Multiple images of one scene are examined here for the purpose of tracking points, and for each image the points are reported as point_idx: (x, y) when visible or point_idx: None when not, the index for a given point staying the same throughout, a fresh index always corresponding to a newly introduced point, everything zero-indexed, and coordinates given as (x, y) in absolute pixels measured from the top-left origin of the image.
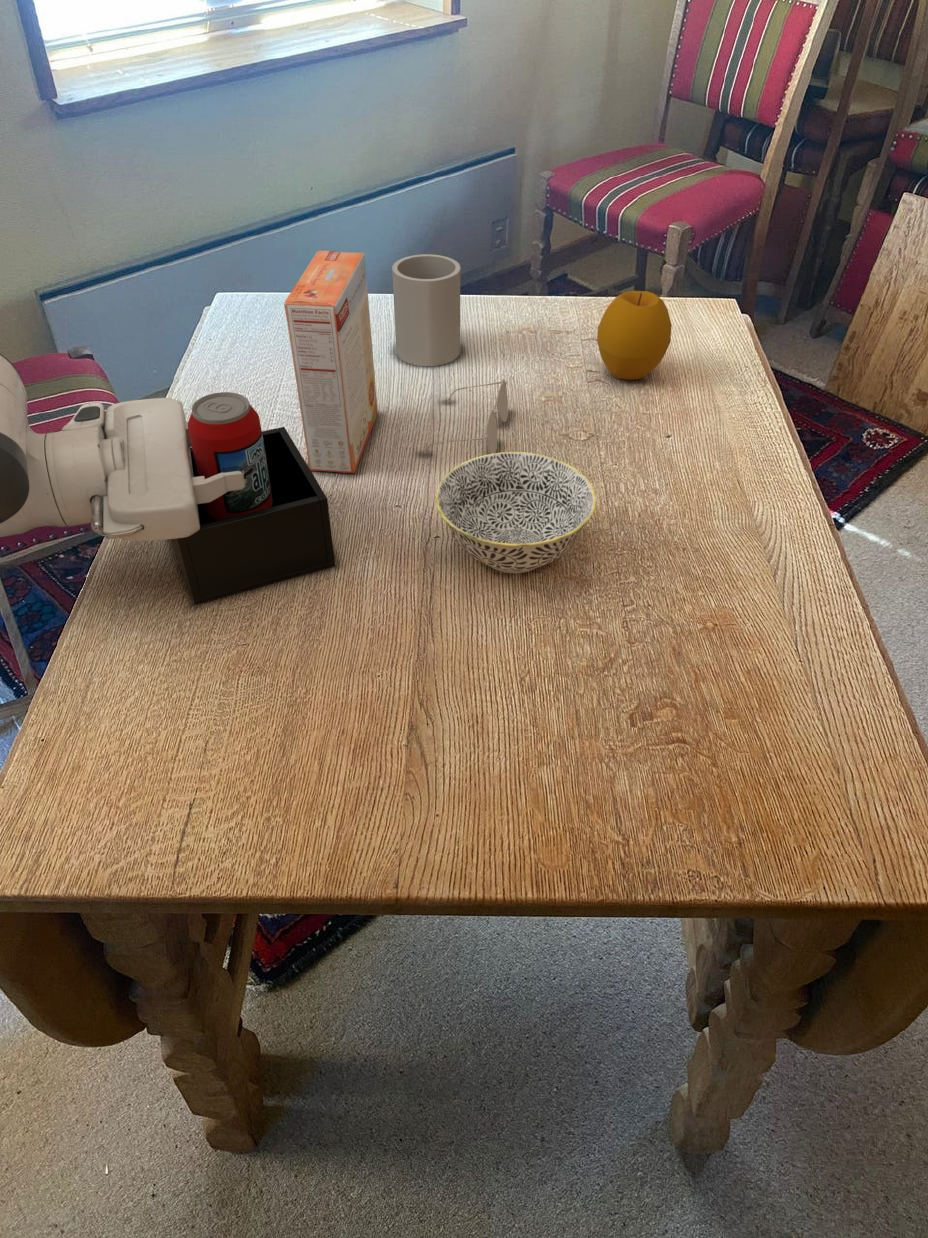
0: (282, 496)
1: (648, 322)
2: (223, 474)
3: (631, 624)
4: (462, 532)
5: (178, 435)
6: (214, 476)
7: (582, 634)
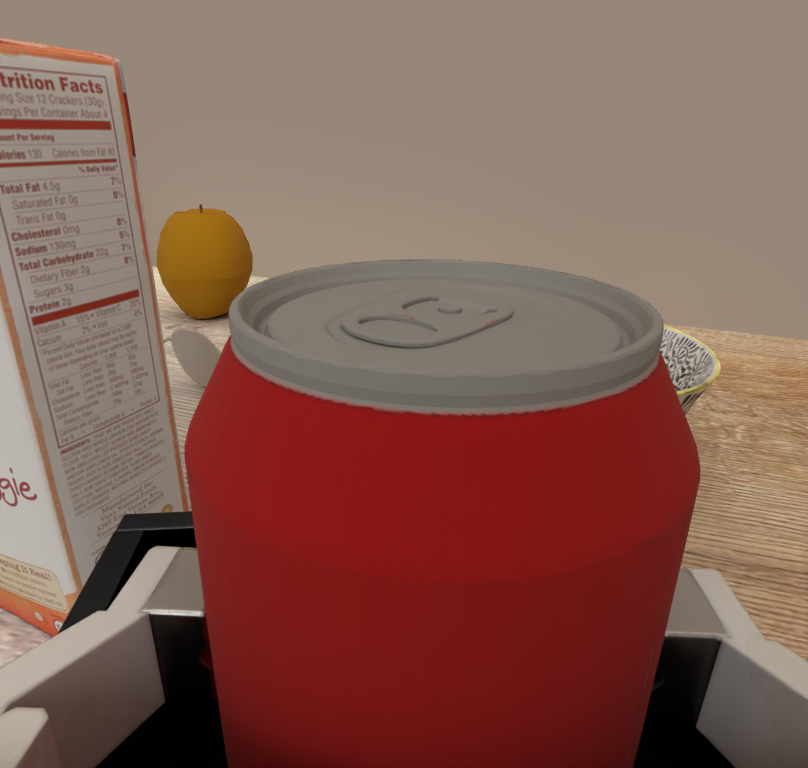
0: (187, 755)
1: (238, 229)
2: (751, 637)
3: (717, 407)
4: (690, 390)
5: None
6: (804, 683)
7: (750, 439)
